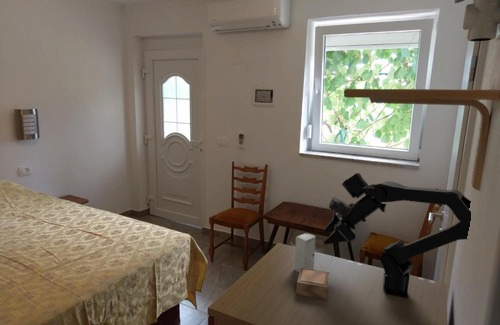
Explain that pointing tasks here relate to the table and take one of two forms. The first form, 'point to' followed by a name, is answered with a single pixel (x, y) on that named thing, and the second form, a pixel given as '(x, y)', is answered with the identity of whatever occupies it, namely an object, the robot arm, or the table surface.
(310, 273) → the walnut stand
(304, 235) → the skincare box
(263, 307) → the table surface
